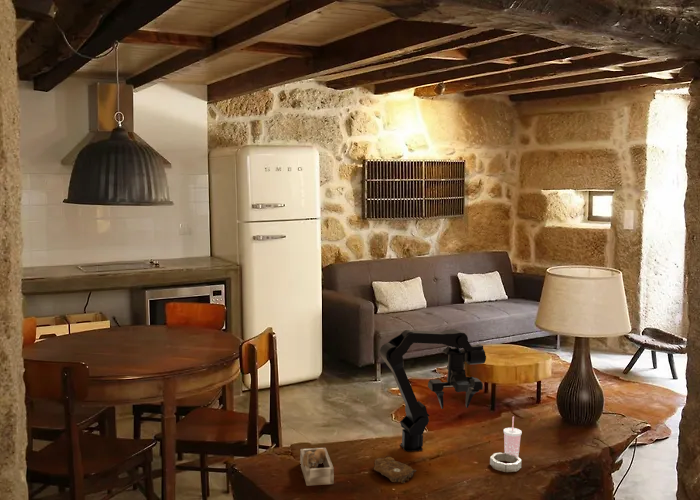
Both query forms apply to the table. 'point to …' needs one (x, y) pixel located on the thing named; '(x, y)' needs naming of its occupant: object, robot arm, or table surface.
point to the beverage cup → (512, 439)
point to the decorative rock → (393, 469)
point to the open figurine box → (317, 470)
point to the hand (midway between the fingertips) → (454, 408)
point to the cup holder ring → (505, 466)
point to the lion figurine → (313, 458)
